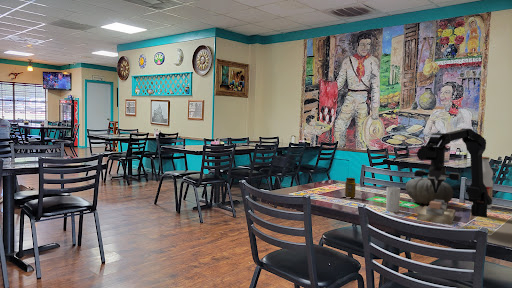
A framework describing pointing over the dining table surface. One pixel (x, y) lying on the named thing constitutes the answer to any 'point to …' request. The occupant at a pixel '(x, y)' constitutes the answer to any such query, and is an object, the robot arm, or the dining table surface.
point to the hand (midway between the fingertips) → (435, 193)
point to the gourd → (428, 191)
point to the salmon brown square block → (435, 205)
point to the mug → (392, 199)
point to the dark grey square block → (440, 201)
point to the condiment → (350, 187)
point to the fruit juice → (487, 177)
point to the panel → (436, 214)
